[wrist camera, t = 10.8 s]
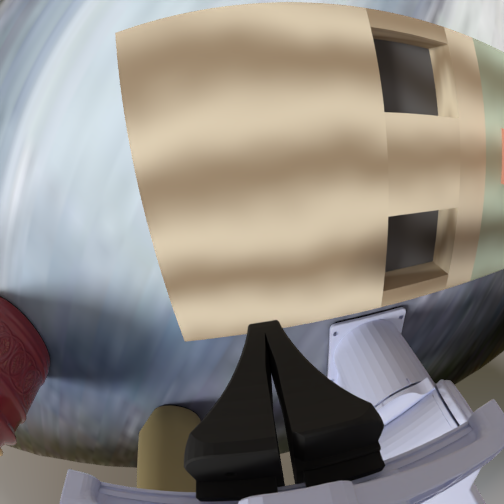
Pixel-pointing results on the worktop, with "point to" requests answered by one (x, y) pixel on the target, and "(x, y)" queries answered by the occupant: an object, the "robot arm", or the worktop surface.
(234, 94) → the board
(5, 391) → the canister
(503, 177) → the block
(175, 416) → the squeeze bottle
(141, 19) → the worktop surface
